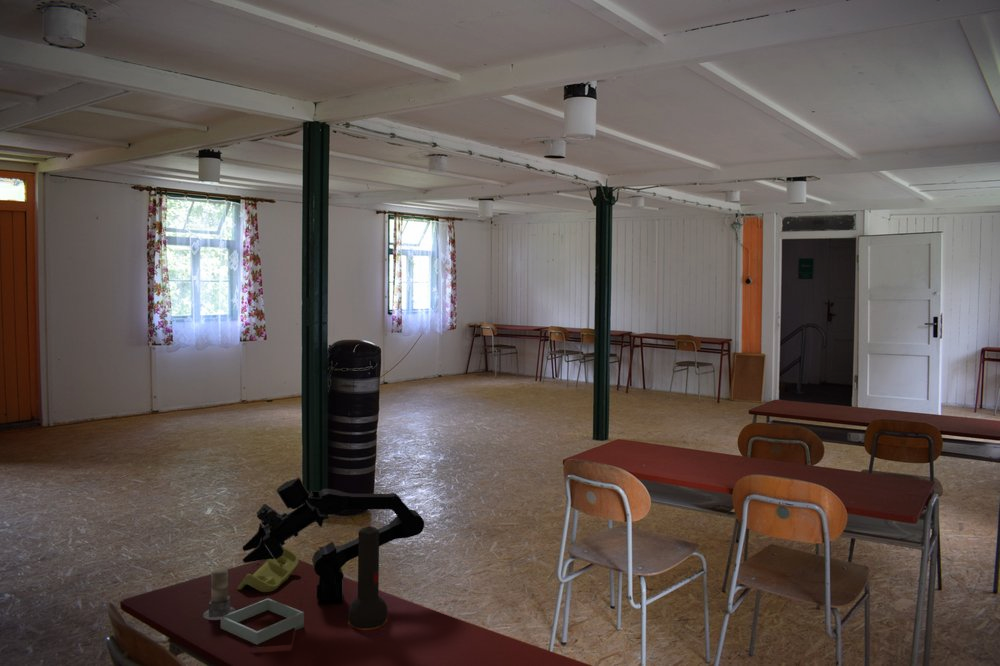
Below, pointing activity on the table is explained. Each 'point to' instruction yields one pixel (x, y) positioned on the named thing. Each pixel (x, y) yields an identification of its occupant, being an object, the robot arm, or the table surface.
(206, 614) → the stud mount
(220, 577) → the strut
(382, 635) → the table surface
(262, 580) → the plastic component
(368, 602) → the flashlight
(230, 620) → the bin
